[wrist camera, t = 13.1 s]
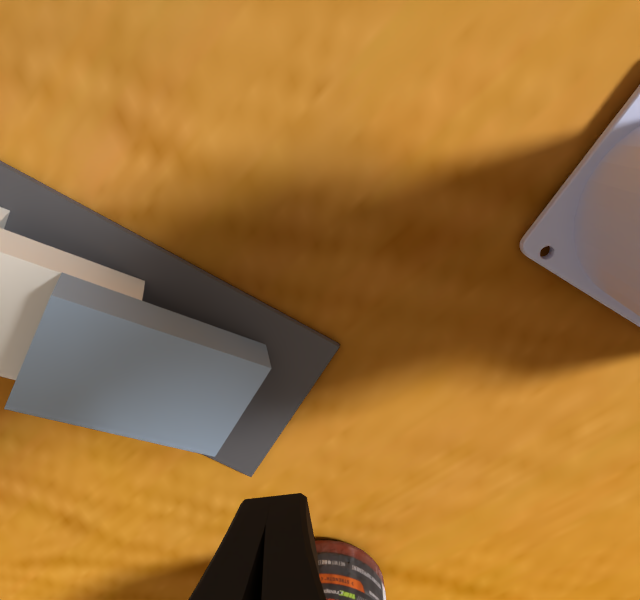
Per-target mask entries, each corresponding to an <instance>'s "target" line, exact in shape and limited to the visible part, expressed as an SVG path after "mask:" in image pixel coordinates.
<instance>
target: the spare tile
mask: <svg viewBox="0 0 640 600" xmlns="http://www.w3.org/2000/svg"><path fill="white" fill-rule="evenodd" d="M271 369H272V368H271V364H270V359H269V355H268V351H267V347H266V345H265V344H263V343H260V342H257V341H254V340H251V339H248V338H246V337H243V336H240V335H237V334H234V333H232V332H229V331H226V330H223V329H220V328H217V327H215V326H212V325H209V324H206V323H203V322H201V321H198V320H195V319H192V318H189V317H186V316H184V315H181V314H178V313H175V312H172V311H170V310H167V309H164V308H161V307H158V306H155V305H153V304H150V303H147V302H144V301H141V300H139V299H136V298H133V297H130V296H127V295H124V294H122V293H119V292H116V291H113V290H110V289H108V288H105V287H102V286H99V285H96V284H93V283H91V282H88V281H85V280H82V279H79V278H77V277H74V276H71V275H68V274H65V273H61V275H60V277H59V279H58V281H57V283H56V285H55V288H54V290H53V292H52V294H51V296H50V299H49V301H48V303H47V306H46V308H45V311H44V313H43V316H42V318H41V320H40V323H39V325H38V328H37V330H36V333H35V335H34V337H33V340H32V342H31V345H30V347H29V350H28V352H27V354H26V357H25V359H24V362H23V364H22V367H21V369H20V371H19V374H18V376H17V379H16V381H15V384H14V386H13V388H12V391H11V393H10V396H9V398H8V401H7V403H6V405H5V408H4V409H7V410H11V411H15V412H20V413H24V414H29V415H33V416H37V417H42V418H46V419H51V420H55V421H59V422H64V423H68V424H73V425H77V426H81V427H86V428H90V429H94V430H99V431H103V432H108V433H112V434H116V435H121V436H125V437H130V438H134V439H138V440H143V441H147V442H152V443H156V444H160V445H165V446H169V447H174V448H178V449H182V450H187V451H191V452H196V453H200V454H204V455H209V456H213V457H215V456H216V455H217V453H218V451H219V450H220V448H221V447H222V445H223V444H224V442H225V440H226V439H227V437H228V436H229V434H230V433H231V431H232V430H233V428H234V426H235V425H236V423H237V422H238V420H239V419H240V417H241V415H242V414H243V412H244V411H245V409H246V408H247V406H248V405H249V403H250V401H251V400H252V398H253V397H254V395H255V394H256V392H257V390H258V389H259V387H260V386H261V384H262V383H263V381H264V380H265V378H266V376H267V375H268V373H269V372H270V370H271Z"/></svg>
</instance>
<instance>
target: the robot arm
mask: <svg viewBox="0 0 640 600" xmlns="http://www.w3.org/2000/svg"><path fill="white" fill-rule="evenodd" d="M546 246H550V251H549V253H548V254H547V255H546V256H543V257H541V256H540V251H541V249H542V248H544V247H546ZM520 250H521V252H522V253H523V254H524V255H525V256H527V257H528V258H530V259H531V260H533V261H535V262H536V263H538V264H539V265H541V266H543V267H544V268H546V269H547V270H549V271H551V272H552V273H554V274H555V275H557V276H559V277H560V278H562V279H564V280H565V281H567V282H568V283H570V284H572V285H573V286H575V287H576V288H578V289H580V290H581V291H583V292H584V293H586V294H588V295H589V296H591V297H592V298H594V299H596V300H597V301H599V302H600V303H602V304H604V305H605V306H607V307H608V308H610V309H612V310H613V311H615V312H616V313H618V314H620V315H621V316H623V317H624V318H626V319H628V320H629V321H631V322H633V323H634V324H636V325H637V326H639V327H640V85H639V86H638V88H637V89H636V90H635V91H634V93H633V94H632V95H631V97H630V98H629V99H628V101H627V102H626V103H625V104H624V106H623V107H622V108H621V110H620V111H619V112H618V114H617V115H616V116H615V117H614V119H613V120H612V121H611V123H610V124H609V125H608V127H607V128H606V129H605V130H604V132H603V133H602V134H601V136H600V137H599V138H598V140H597V141H596V142H595V143H594V145H593V146H592V147H591V149H590V150H589V151H588V153H587V154H586V155H585V156H584V158H583V159H582V160H581V162H580V163H579V164H578V166H577V167H576V168H575V169H574V171H573V172H572V173H571V175H570V176H569V177H568V179H567V180H566V181H565V183H564V184H563V185H562V186H561V188H560V189H559V190H558V192H557V193H556V194H555V196H554V197H553V198H552V199H551V201H550V202H549V203H548V205H547V206H546V207H545V209H544V210H543V211H542V212H541V214H540V215H539V216H538V218H537V219H536V220H535V222H534V223H533V224H532V225H531V227H530V228H529V229H528V231H527V232H526V233H525V235H524V236H523V237H522V239H521V241H520ZM189 600H327V599H326V596H325V593H324V590H323V587H322V584H321V580H320V577H319V565H318V556H317V550H316V545H315V539H314V534H313V529H312V523H311V518H310V513H309V507H308V502H307V497H306V496H304V495H303V494H301V493H298V494H289V495H280V496H271V497H262V498H253V499H245V500H244V501H243V502H242V503H241V505H240V507H239V509H238V511H237V513H236V515H235V517H234V519H233V521H232V523H231V525H230V527H229V529H228V531H227V533H226V535H225V537H224V538H223V540H222V542H221V544H220V546H219V548H218V550H217V551H216V553H215V555H214V557H213V559H212V560H211V562H210V564H209V566H208V567H207V569H206V571H205V573H204V574H203V576H202V578H201V579H200V581H199V583H198V585H197V586H196V588H195V590H194V591H193V593H192V595H191V596H190V598H189Z"/></svg>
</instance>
